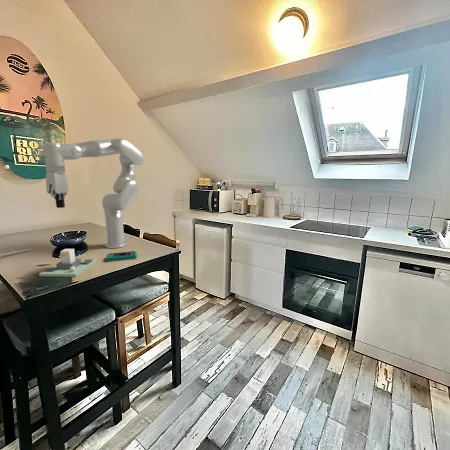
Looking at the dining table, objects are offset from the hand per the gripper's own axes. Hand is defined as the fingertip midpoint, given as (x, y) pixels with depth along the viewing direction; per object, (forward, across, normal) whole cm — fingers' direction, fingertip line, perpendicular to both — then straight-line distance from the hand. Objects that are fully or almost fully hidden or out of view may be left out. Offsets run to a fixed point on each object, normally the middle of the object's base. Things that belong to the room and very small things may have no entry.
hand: (60, 207), depth 127 cm
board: (+27, +13, +9) cm, 31 cm away
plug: (+26, +13, +9) cm, 30 cm away
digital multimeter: (+28, -2, +27) cm, 39 cm away
